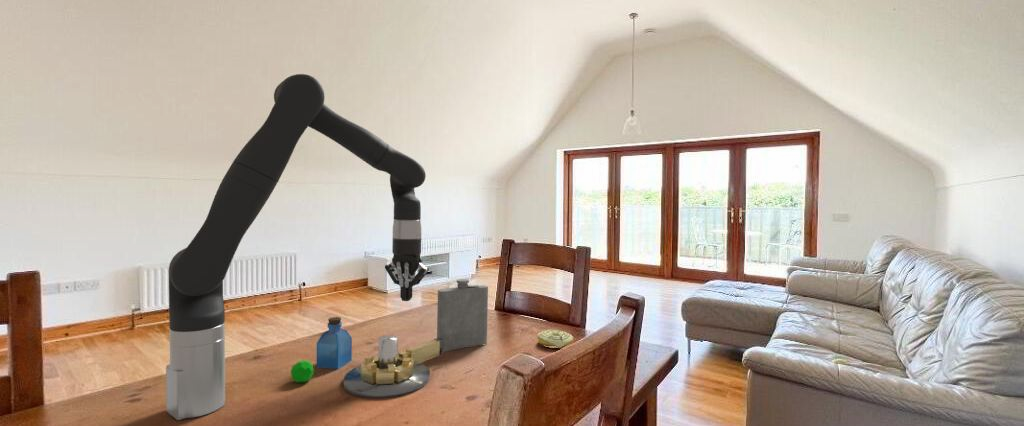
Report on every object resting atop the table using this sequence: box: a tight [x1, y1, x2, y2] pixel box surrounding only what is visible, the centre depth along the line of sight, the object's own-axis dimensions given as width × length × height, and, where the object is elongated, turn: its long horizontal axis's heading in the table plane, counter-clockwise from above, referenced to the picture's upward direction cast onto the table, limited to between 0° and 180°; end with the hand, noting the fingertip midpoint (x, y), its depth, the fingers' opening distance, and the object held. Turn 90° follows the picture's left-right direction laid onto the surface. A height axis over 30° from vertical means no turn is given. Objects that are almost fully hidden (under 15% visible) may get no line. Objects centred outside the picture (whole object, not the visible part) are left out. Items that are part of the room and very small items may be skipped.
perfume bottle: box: [316, 316, 353, 370], centre depth 117 cm, size 6×6×12 cm
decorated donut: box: [537, 329, 574, 350], centre depth 136 cm, size 10×11×4 cm
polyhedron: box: [290, 359, 315, 384], centre depth 106 cm, size 5×5×5 cm
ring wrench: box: [360, 337, 443, 384], centre depth 112 cm, size 24×12×4 cm, turn 145°
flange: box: [343, 334, 431, 399], centre depth 107 cm, size 20×20×10 cm
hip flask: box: [436, 278, 489, 353], centre depth 132 cm, size 16×4×20 cm, turn 121°
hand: (406, 300), depth 120 cm, fingers closed
